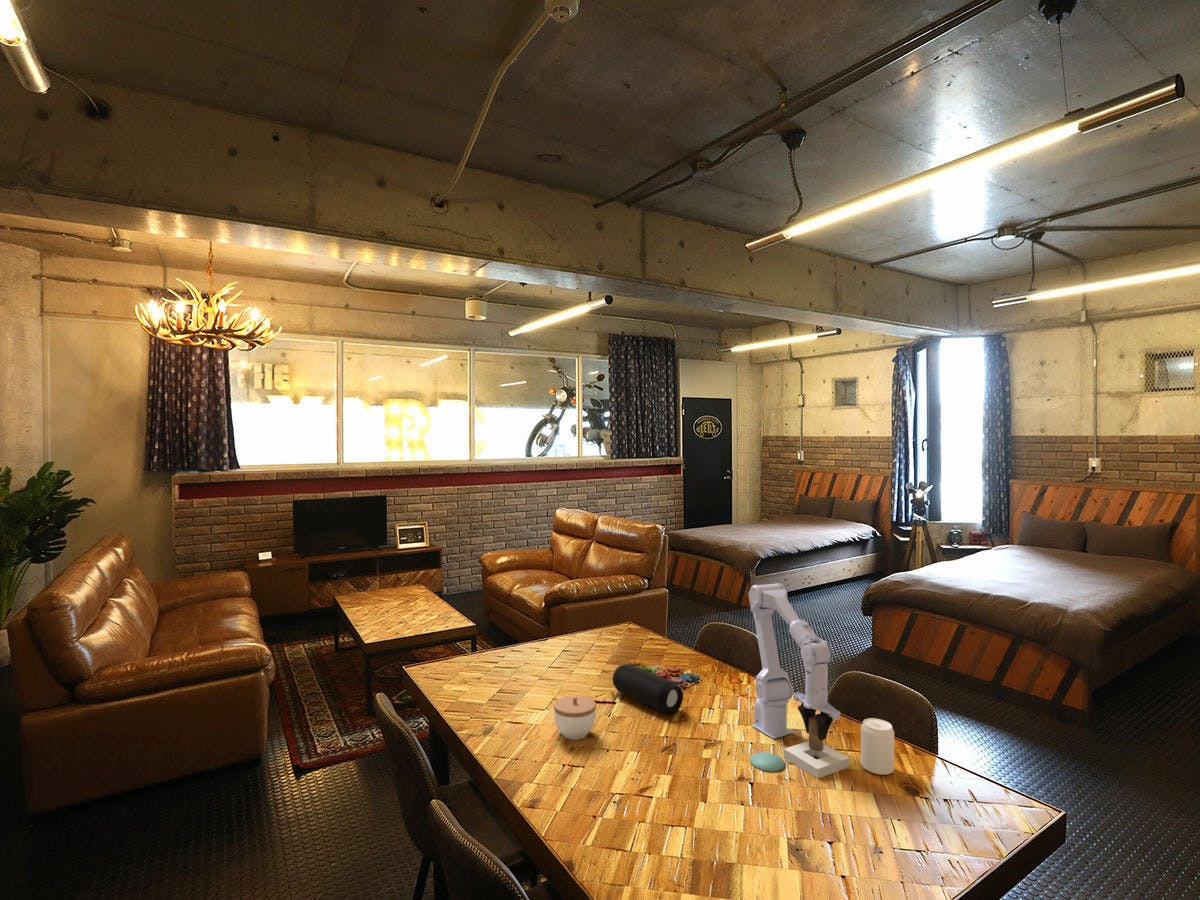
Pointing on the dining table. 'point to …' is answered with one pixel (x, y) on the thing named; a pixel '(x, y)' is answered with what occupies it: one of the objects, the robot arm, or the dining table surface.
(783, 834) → the dining table surface
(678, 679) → the gear puzzle
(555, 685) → the dining table surface
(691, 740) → the dining table surface
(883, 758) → the beverage can
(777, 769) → the teal pad
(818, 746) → the walnut dowel
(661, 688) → the portable speaker
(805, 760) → the block
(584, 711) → the lidded bowl
